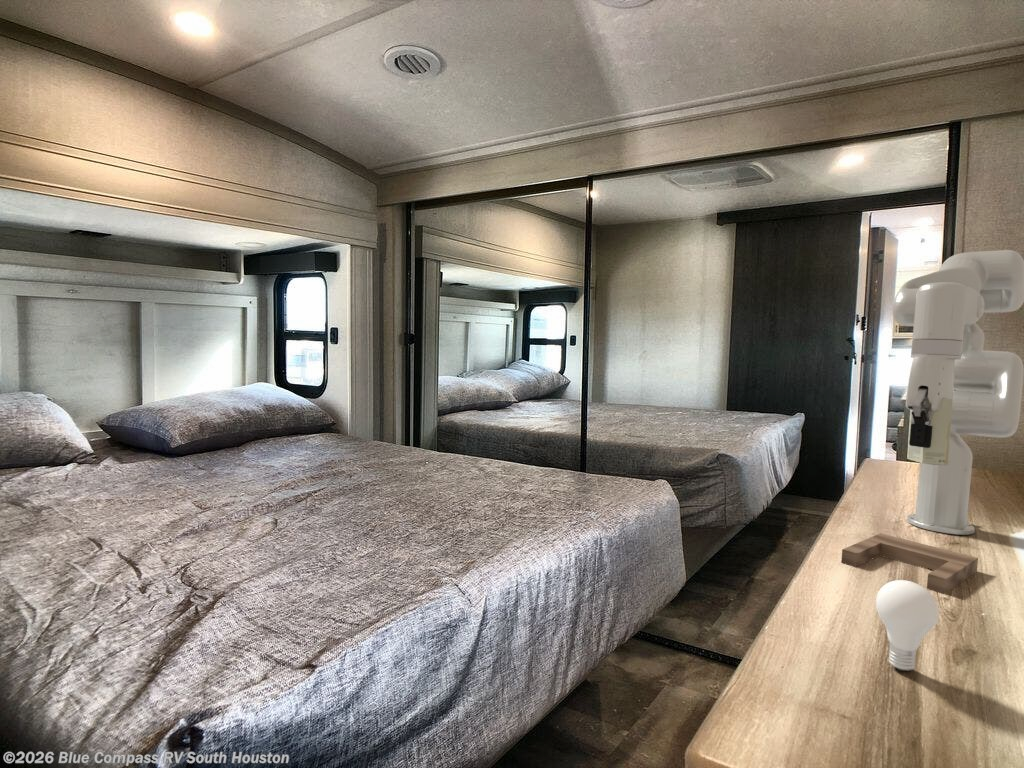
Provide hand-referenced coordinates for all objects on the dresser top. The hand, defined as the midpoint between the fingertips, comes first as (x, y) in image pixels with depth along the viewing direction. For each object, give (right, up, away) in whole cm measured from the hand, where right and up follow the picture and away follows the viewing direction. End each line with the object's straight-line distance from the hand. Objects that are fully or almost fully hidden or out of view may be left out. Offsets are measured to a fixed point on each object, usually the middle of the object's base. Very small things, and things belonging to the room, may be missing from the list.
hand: (927, 445), depth 107 cm
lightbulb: (-29, -24, -36) cm, 53 cm away
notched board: (-4, -22, -1) cm, 23 cm away
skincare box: (0, -3, 0) cm, 3 cm away
